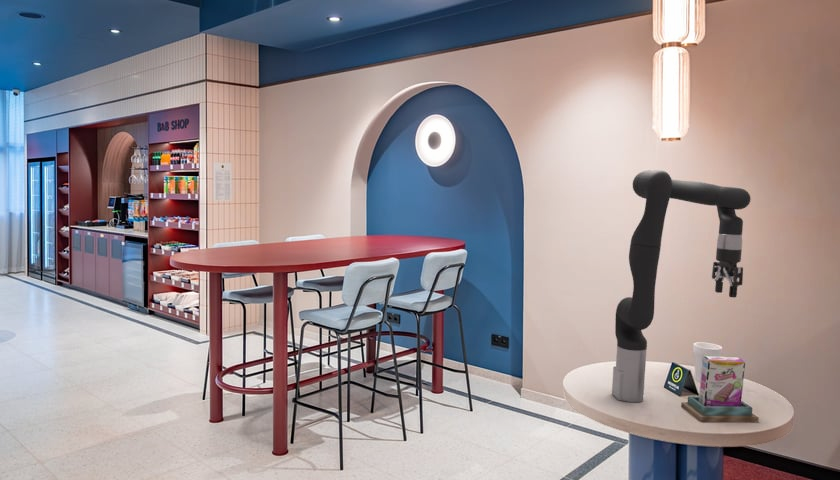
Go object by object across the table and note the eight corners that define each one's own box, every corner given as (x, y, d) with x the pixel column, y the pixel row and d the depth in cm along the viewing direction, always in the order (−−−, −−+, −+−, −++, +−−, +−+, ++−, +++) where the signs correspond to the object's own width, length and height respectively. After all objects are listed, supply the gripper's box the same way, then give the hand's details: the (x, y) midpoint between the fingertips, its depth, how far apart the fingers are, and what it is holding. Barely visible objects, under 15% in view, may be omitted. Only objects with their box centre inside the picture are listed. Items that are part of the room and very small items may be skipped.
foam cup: (686, 379, 220) (689, 345, 218) (696, 374, 226) (699, 340, 225) (713, 386, 213) (716, 350, 212) (723, 381, 219) (726, 346, 218)
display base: (700, 421, 181) (701, 409, 180) (681, 406, 193) (682, 394, 192) (758, 422, 182) (759, 409, 181) (735, 407, 194) (736, 395, 193)
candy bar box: (704, 411, 185) (708, 359, 183) (697, 405, 190) (701, 355, 188) (741, 413, 184) (746, 361, 183) (734, 407, 189) (738, 356, 188)
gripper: (752, 250, 196) (748, 299, 197) (728, 245, 210) (724, 291, 211) (730, 249, 195) (726, 298, 197) (707, 244, 209) (703, 290, 211)
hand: (725, 294), depth 204 cm, fingers open, 8 cm apart
